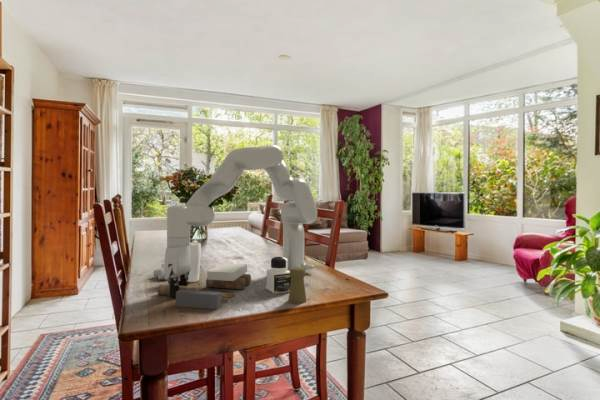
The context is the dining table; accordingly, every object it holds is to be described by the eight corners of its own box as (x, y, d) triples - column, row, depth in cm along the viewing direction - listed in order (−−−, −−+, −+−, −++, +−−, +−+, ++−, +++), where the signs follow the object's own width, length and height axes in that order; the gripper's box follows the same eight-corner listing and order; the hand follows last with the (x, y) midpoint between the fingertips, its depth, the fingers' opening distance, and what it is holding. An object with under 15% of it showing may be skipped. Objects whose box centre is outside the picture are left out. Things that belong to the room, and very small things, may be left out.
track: (251, 283, 135) (251, 273, 134) (226, 302, 112) (226, 290, 112) (217, 281, 137) (217, 271, 137) (187, 299, 115) (187, 287, 115)
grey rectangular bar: (221, 306, 108) (221, 292, 108) (217, 309, 105) (217, 295, 105) (181, 303, 111) (181, 289, 111) (175, 306, 108) (175, 291, 108)
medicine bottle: (274, 294, 121) (274, 260, 121) (266, 288, 128) (266, 256, 127) (292, 291, 124) (292, 258, 124) (283, 286, 131) (284, 255, 130)
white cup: (195, 283, 133) (195, 245, 133) (179, 282, 135) (179, 244, 134) (204, 279, 140) (204, 242, 140) (188, 278, 141) (188, 241, 141)
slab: (247, 271, 136) (247, 264, 136) (233, 281, 122) (233, 272, 122) (223, 270, 138) (223, 263, 138) (207, 279, 124) (207, 271, 124)
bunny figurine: (150, 271, 136) (160, 259, 151) (151, 284, 137) (160, 270, 152) (175, 271, 137) (182, 259, 152) (175, 283, 138) (182, 270, 153)
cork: (287, 297, 117) (288, 265, 117) (305, 297, 118) (305, 265, 117) (288, 303, 111) (289, 270, 111) (307, 303, 112) (307, 269, 111)
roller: (200, 296, 119) (200, 285, 119) (194, 299, 116) (195, 288, 116) (163, 293, 122) (163, 283, 122) (157, 296, 118) (157, 285, 118)
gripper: (182, 237, 127) (182, 286, 128) (153, 245, 111) (153, 301, 111) (200, 238, 126) (200, 288, 126) (174, 246, 109) (174, 303, 110)
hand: (178, 293), depth 119 cm, fingers open, 4 cm apart
